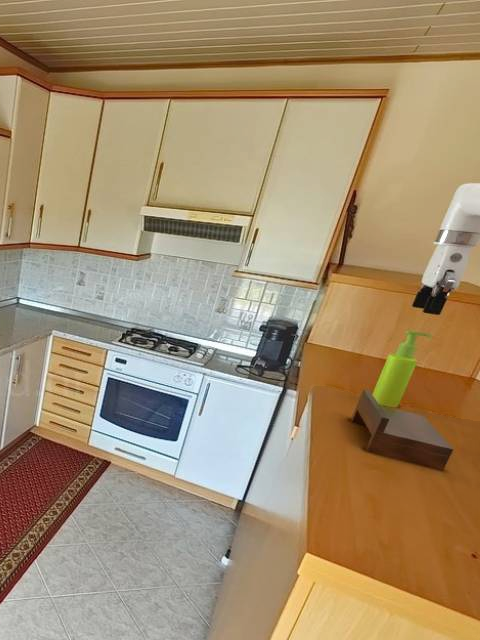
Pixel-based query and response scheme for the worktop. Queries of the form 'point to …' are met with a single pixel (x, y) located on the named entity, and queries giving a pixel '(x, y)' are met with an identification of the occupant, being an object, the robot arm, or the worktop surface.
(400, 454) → the wooden toy bed
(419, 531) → the worktop surface
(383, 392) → the soap dispenser
